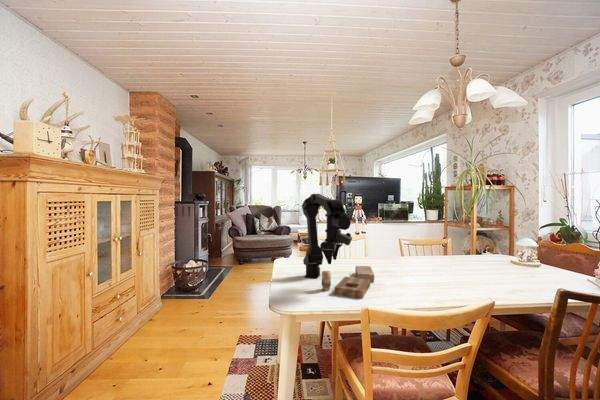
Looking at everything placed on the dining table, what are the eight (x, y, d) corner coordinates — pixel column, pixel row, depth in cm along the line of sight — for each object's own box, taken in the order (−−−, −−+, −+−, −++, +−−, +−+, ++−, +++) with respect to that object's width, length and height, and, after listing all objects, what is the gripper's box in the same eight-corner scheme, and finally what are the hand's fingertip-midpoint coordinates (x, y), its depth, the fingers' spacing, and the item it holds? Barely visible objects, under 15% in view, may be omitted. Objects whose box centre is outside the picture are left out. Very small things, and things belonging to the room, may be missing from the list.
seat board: (334, 294, 122) (334, 287, 122) (344, 282, 138) (345, 276, 138) (362, 298, 117) (362, 291, 117) (370, 286, 133) (370, 279, 133)
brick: (374, 283, 139) (374, 273, 138) (357, 282, 140) (357, 273, 140) (370, 274, 155) (370, 265, 155) (355, 273, 156) (355, 265, 156)
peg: (320, 290, 126) (320, 272, 126) (323, 287, 130) (323, 270, 130) (329, 291, 124) (329, 273, 124) (332, 289, 128) (332, 271, 128)
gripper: (346, 230, 116) (345, 268, 117) (354, 226, 134) (354, 259, 134) (320, 229, 120) (319, 265, 121) (331, 225, 138) (331, 257, 138)
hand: (332, 261), depth 128 cm, fingers open, 9 cm apart
